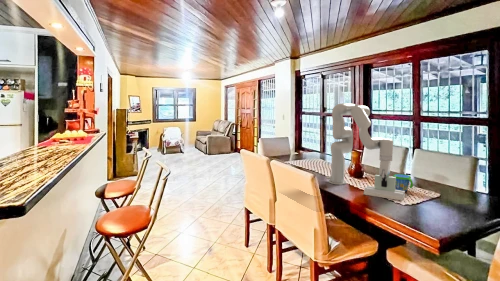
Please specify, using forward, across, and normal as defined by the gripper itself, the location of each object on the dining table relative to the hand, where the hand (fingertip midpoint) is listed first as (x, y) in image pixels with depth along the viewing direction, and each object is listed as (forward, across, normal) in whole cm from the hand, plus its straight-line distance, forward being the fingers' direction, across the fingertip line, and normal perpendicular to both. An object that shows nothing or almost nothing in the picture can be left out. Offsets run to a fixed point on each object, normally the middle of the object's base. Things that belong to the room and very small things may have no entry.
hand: (384, 185), depth 194 cm
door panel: (+3, 0, 0) cm, 3 cm away
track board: (+6, 0, 0) cm, 6 cm away
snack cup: (+7, -21, +7) cm, 23 cm away
